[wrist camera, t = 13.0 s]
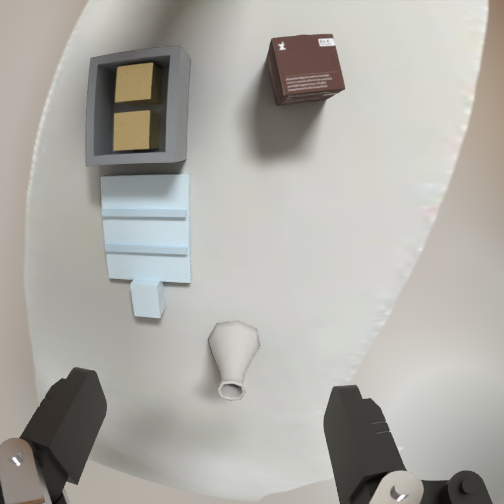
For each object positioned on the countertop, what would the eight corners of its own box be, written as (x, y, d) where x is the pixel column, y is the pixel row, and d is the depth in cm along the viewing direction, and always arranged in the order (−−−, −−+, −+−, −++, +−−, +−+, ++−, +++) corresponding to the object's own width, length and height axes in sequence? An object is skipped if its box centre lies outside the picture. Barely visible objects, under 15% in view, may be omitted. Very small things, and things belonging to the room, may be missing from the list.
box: (275, 106, 32) (282, 96, 25) (265, 57, 30) (269, 37, 23) (327, 100, 31) (347, 90, 24) (317, 52, 29) (333, 32, 22)
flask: (206, 357, 43) (197, 407, 33) (211, 315, 40) (201, 364, 31) (255, 363, 43) (257, 414, 34) (264, 323, 41) (269, 372, 31)
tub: (111, 67, 29) (90, 57, 24) (190, 59, 29) (180, 45, 24) (107, 162, 33) (85, 166, 28) (186, 159, 33) (175, 162, 28)
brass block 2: (128, 115, 31) (114, 113, 27) (160, 113, 31) (149, 110, 27) (127, 149, 32) (113, 150, 28) (159, 147, 32) (149, 148, 29)
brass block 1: (130, 73, 29) (117, 66, 25) (163, 70, 29) (153, 62, 25) (128, 105, 30) (114, 102, 27) (161, 103, 31) (150, 98, 27)
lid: (104, 175, 34) (93, 178, 31) (190, 173, 34) (185, 176, 31) (116, 302, 40) (108, 313, 37) (193, 308, 40) (189, 320, 37)
